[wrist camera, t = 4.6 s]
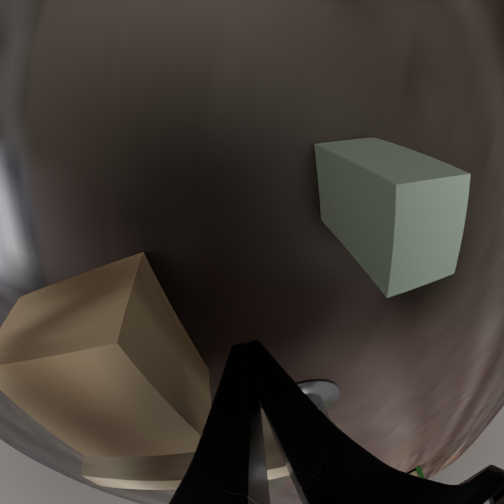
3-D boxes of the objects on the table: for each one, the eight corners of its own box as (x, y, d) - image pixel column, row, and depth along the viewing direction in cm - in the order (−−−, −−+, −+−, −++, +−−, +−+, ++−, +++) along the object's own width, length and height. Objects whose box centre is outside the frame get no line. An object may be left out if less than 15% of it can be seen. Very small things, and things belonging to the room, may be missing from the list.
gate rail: (272, 406, 13) (287, 465, 10) (276, 421, 14) (290, 475, 11) (88, 425, 13) (80, 475, 10) (105, 439, 14) (100, 485, 11)
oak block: (144, 248, 9) (117, 342, 5) (208, 365, 12) (215, 448, 8) (21, 294, 9) (-21, 367, 5) (97, 386, 12) (85, 455, 8)
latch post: (374, 137, 8) (470, 173, 4) (375, 208, 9) (454, 273, 6) (314, 143, 8) (396, 184, 4) (321, 220, 9) (386, 298, 5)
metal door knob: (341, 370, 13) (372, 439, 10) (336, 409, 15) (358, 466, 12) (254, 393, 13) (270, 470, 9) (266, 428, 15) (280, 488, 12)
